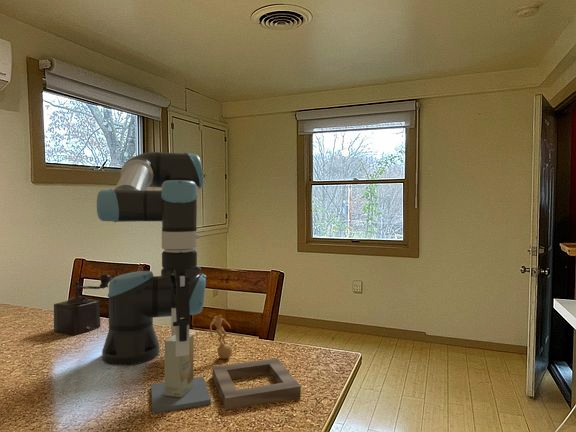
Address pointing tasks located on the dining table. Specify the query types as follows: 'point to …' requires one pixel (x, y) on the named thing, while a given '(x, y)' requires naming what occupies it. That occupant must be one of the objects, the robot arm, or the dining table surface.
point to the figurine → (224, 349)
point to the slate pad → (191, 399)
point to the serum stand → (254, 395)
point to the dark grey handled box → (79, 311)
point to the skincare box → (178, 368)
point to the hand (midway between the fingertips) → (179, 344)
